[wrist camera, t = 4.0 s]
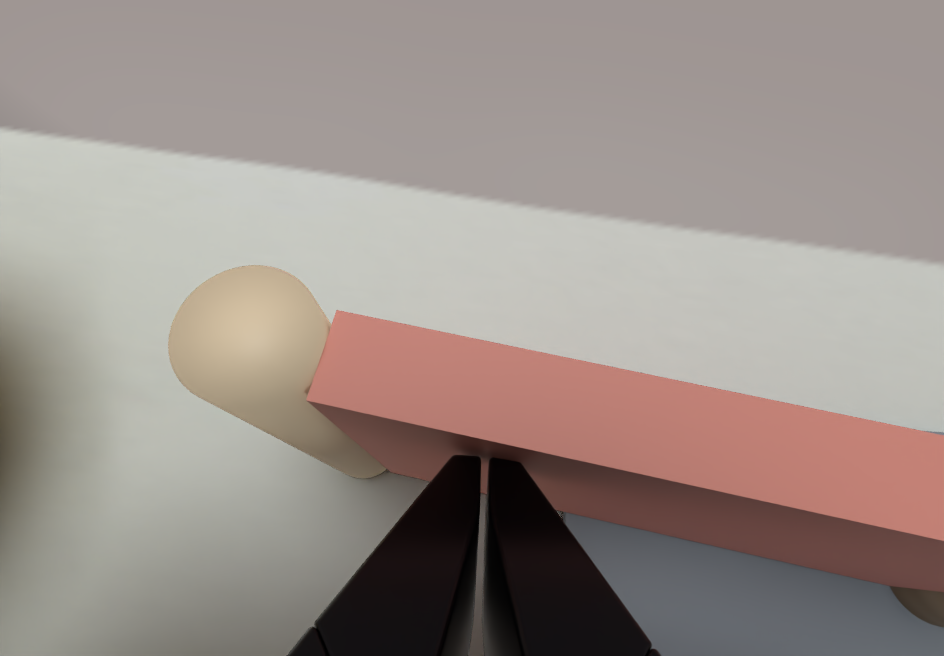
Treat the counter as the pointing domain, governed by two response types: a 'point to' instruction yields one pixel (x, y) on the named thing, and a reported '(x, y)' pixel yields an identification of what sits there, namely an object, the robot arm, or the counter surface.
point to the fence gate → (569, 431)
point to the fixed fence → (922, 604)
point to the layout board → (747, 600)
